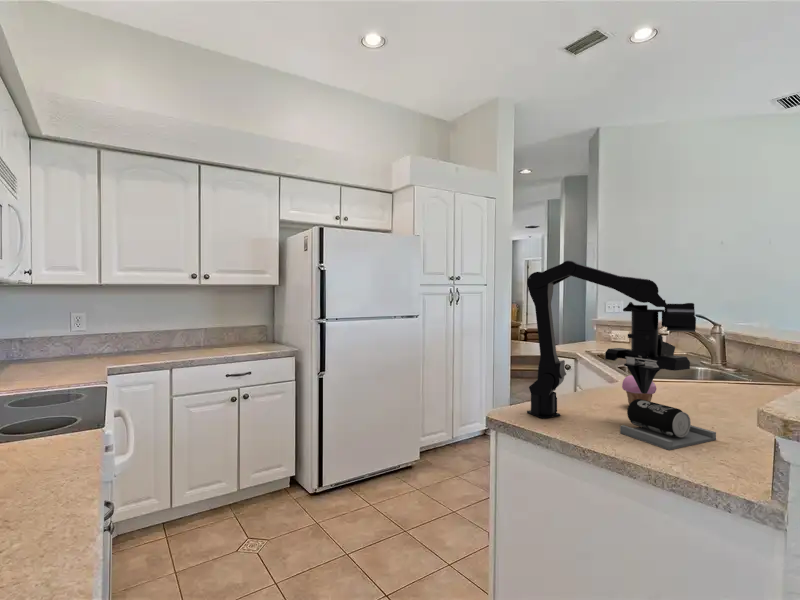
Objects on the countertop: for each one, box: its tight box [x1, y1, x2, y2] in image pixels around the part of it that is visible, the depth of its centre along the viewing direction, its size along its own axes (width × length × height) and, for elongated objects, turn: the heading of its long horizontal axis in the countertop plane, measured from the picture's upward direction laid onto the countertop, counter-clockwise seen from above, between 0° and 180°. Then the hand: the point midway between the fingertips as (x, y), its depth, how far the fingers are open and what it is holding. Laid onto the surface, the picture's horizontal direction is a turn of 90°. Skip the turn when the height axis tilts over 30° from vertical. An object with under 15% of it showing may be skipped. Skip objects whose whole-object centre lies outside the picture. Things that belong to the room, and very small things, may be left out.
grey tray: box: [619, 424, 717, 451], centre depth 98 cm, size 16×12×2 cm
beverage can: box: [626, 399, 691, 437], centre depth 100 cm, size 7×7×12 cm
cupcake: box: [621, 374, 657, 405], centre depth 122 cm, size 9×9×10 cm
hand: (644, 393), depth 103 cm, fingers closed
